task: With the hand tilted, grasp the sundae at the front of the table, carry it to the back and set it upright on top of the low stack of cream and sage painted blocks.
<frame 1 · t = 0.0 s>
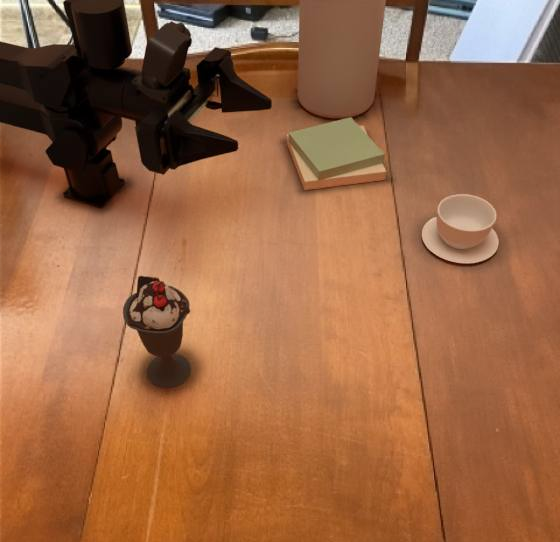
hand: (255, 124, 77), 17 cm above the table, tool horizontal, fingers open, 9 cm apart
sundae: (169, 371, 76), on the table
block stack: (334, 160, 101), on the table
cylinder vase: (335, 100, 111), on the table
teacup: (458, 241, 90), on the table
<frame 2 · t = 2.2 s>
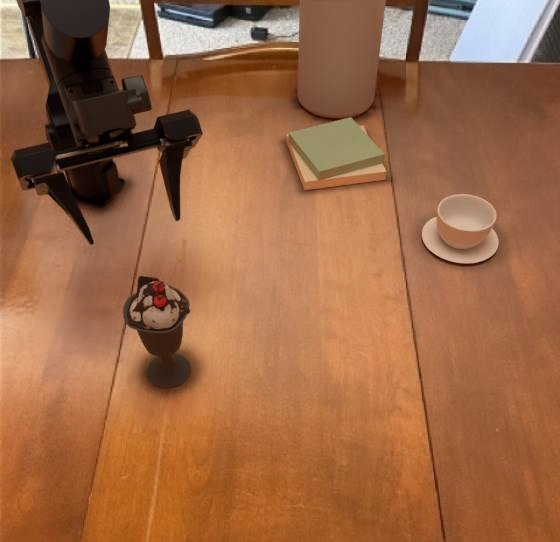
hand: (135, 232, 70), 13 cm above the table, tool tilted 45°, fingers open, 9 cm apart
nothing on the table moved.
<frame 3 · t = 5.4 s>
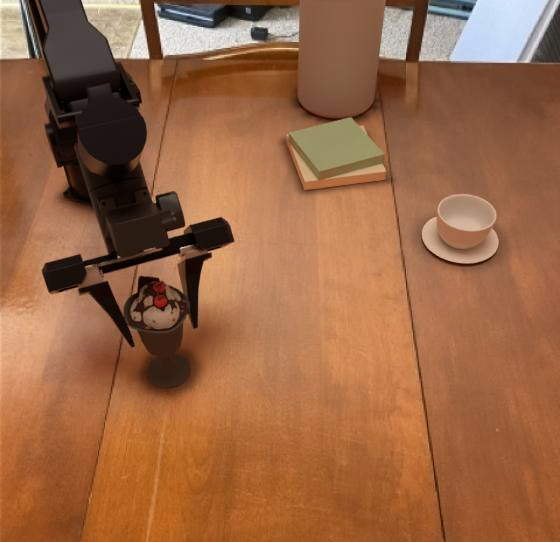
hand: (164, 337, 70), 7 cm above the table, tool tilted 45°, fingers closed on sundae, 6 cm apart
sundae: (169, 372, 76), on the table, touching gripper
everything else where it was.
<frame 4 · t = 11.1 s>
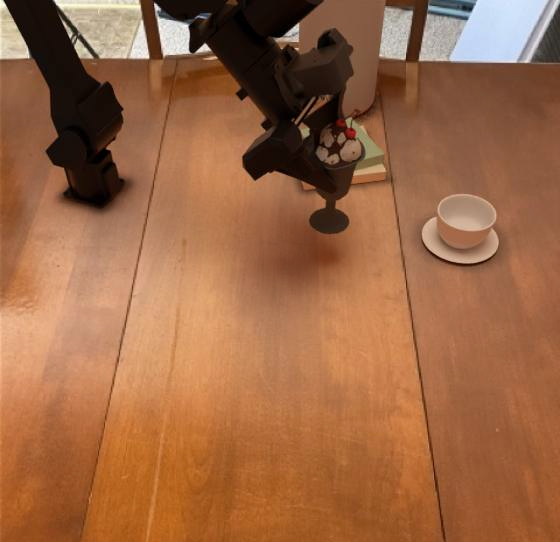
hand: (344, 175, 77), 13 cm above the table, tool tilted 45°, fingers closed on sundae, 6 cm apart
sundae: (329, 222, 84), point 5 cm above the table, touching gripper
everything else where it was.
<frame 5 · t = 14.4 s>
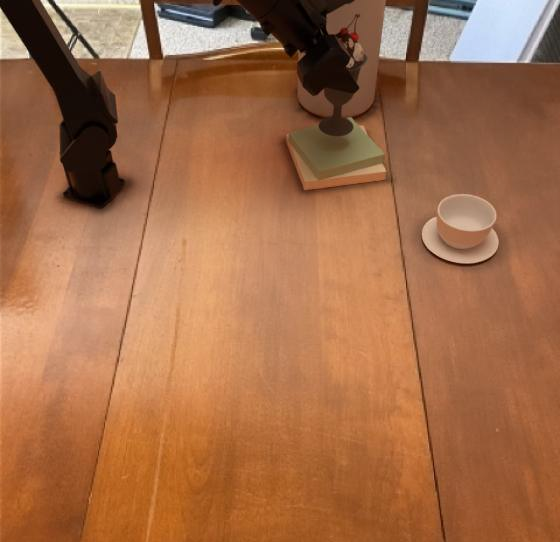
hand: (350, 77, 91), 13 cm above the table, tool tilted 45°, fingers closed on sundae, 6 cm apart
sundae: (336, 127, 96), point 5 cm above the table, touching gripper
everything else where it was.
when the fingers open (10 cm above the table, at t = 17.0 s): sundae stays where it is, resting on block stack.
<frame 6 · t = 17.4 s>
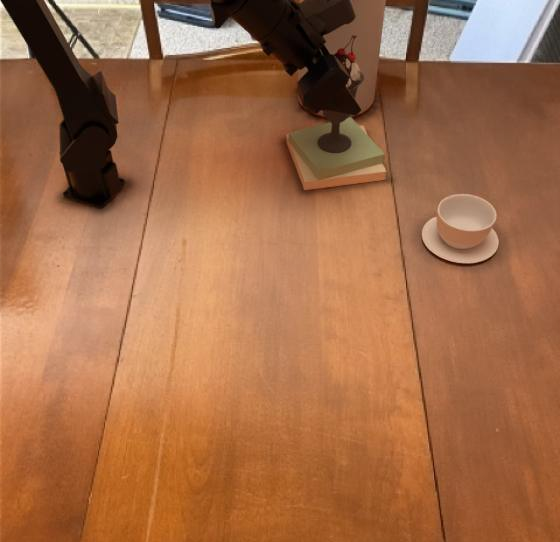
hand: (349, 94, 93), 10 cm above the table, tool tilted 45°, fingers open, 9 cm apart
sundae: (334, 144, 98), point 3 cm above the table, touching block stack
everything else where it was.
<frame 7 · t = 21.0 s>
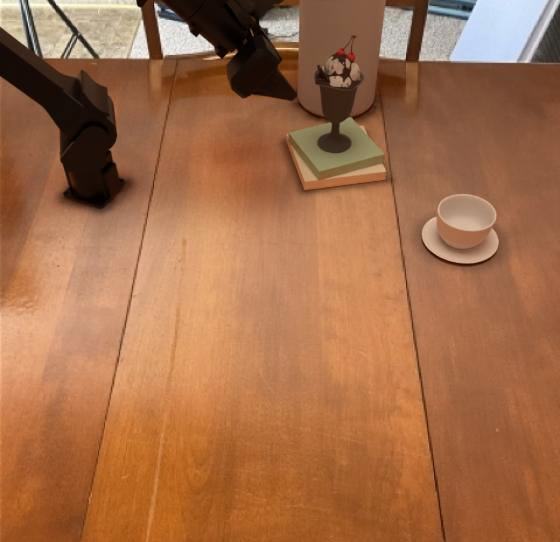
hand: (287, 79, 89), 13 cm above the table, tool tilted 45°, fingers open, 9 cm apart
nothing on the table moved.
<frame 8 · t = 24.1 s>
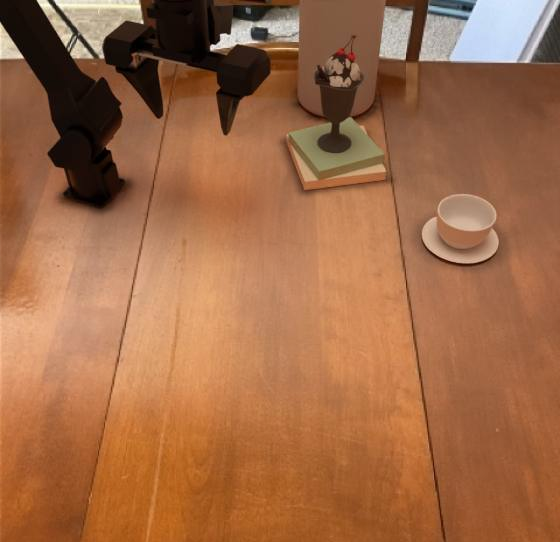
hand: (193, 125, 83), 13 cm above the table, tool pointing down, fingers open, 9 cm apart
nothing on the table moved.
at the end: sundae inside the target area on the block stack (0.2 cm from its centre), point 2.8 cm above the block stack's base; sundae tilted 0°; the gripper is holding nothing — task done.
